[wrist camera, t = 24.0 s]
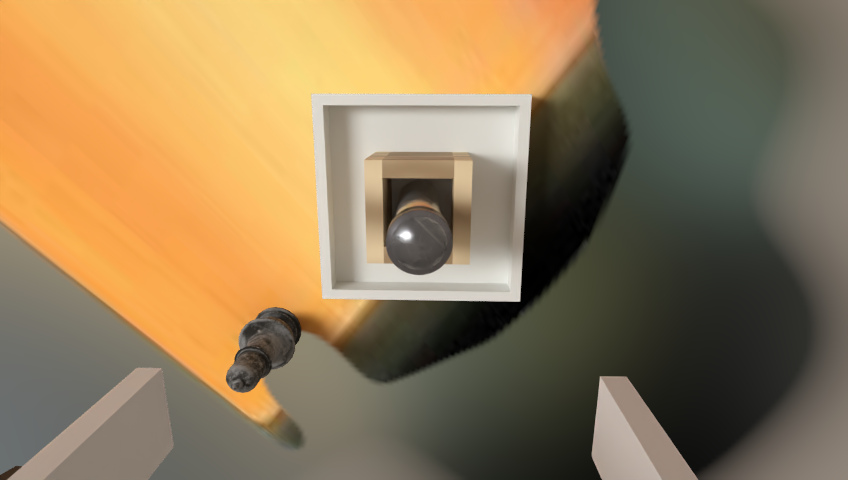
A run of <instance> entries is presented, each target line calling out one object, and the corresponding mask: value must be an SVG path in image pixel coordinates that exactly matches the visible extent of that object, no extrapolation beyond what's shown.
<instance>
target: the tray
mask: <svg viewBox="0 0 848 480" xmlns="http://www.w3.org/2000/svg"><path fill="white" fill-rule="evenodd" d="M311 97H312V115H313V134H314V152H315V170H316V189H317V207H318V225H319V244H320V262H321V280H322V299H379V300H450V301H520V293H521V275H522V258H523V240H524V223H525V205H526V188H527V170H528V153H529V135H530V118H531V101H532V94H311ZM375 152H468V154H469V155H470V157H471V159H472V160H473V167H472V202H471V236H470V265H461V264H444V265H443V266H442V267H441V268H440V269H438V270H436V271H435V272H432V273H430V274H426V275H413V274H409V273H406V272H404V271H402V270H400V269H399V268H398V267H396V266H395V265H394V264H383V263H367V251H366V215H365V179H364V160H365V159H366V158H367V157H369V156H370V155H372V154H373V153H375ZM416 180H420V181H425V182H427V183H429V184H430V185H431V186H433V188H434V189H435V190H436V193H437V196H438V200H439V205H440V210H441V214H442V216H443V217H444V218H445V219H446V221H447V222H448V224H449V226H451V185H452V179H436V178H392V220H393V218H394V217H395V215H396V209H397V203H398V197H399V193H400V191H401V189H402V188H403V187H404V186H405V185H406V184H407V183H409V182H412V181H416Z"/></svg>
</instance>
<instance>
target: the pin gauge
mask: <svg viewBox="0 0 848 480" xmlns="http://www.w3.org/2000/svg"><path fill="white" fill-rule="evenodd" d="M452 247H453V239H452V234H451V230H450V227H449V224H448V222H447V221H446V219H445V218H444V217H443V216H442V214H441V210H440V205H439V200H438V196H437V193H436V190H435V189H434V188H433V186H431V185H430V184H429V183H427V182H425V181H420V180H416V181H412V182H409V183H407V184H406V185H405V186H404V187H403V188H402V189H401V191H400V193H399V197H398V203H397V209H396V215H395V217H394V218H393V220H392V221H391V223H390V225H389V228H388V231H387V236H386V250H387V253H388V256H389V258H390V260H391V261H392V262H393V264H394V265H395V266H396V267H398V268H399V269H400V270H402V271H404V272H406V273H409V274H413V275H426V274H430V273H432V272H435V271H436V270H438V269H440V268H441V267H442V266H443V265H444V264H445V263H446V262H447V260H448V259H449V257H450V255H451V252H452Z"/></svg>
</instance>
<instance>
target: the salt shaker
mask: <svg viewBox="0 0 848 480" xmlns="http://www.w3.org/2000/svg"><path fill="white" fill-rule="evenodd" d="M300 336H301V327H300V323H299V321H298V319H297V318H296V317H295V316H294V315H293V314H292V313H291V312H289V311H288V310H285V309H283V308H277V307H274V308H268V309H266V310H264V311H262V312H261V313H260V314H259V315H258V316H257V317H256V319H255V320H252V321H250V322H249V323H248V324H246V325H245V326H244V328H243V329H242V330H241V333H240V336H239V347H240V350H239V351H238V352H237V354H236V356H235V362H234V364H233V365H232V366H231V367H230V369H229V370H228V372H227V375H226V381H227V384H228V385H229V387H230V388H231V389H233V390H234V391H236V392H241V393H244V392H249V391H251V390H252V389H253V388H255V386H256V385H257V383H258V382H259V380H260V379H261V378H264V377H265V376H267V375H268V374H269V372H270V370H271V369H277V368H280V367H283V366H284V365H285V364H287V363H288V362H289V361H290V359H291V358H292V356H293V354H294V350H295V345H296V344H297V342H298V341H299V338H300Z"/></svg>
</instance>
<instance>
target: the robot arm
mask: <svg viewBox="0 0 848 480" xmlns="http://www.w3.org/2000/svg"><path fill="white" fill-rule="evenodd" d="M173 447H174V445H173V438H172V431H171V425H170V418H169V412H168V405H167V399H166V392H165V386H164V379H163V372H162V368H136V369H135V370H134V371H133V372H132V373H131V374H129V375H128V376H127V377H126V378H125V379H124V380H123V381H121V382H120V383H119V384H118V385H117V386H115V387H114V388H113V389H112V390H111V391H110V392H109V393H108V394H106V395H105V396H104V397H103V398H101V399H100V400H99V401H98V402H97V403H96V404H94V405H93V406H92V407H91V408H90V409H89V410H88V411H86V412H85V413H84V414H83V415H82V416H80V418H78V419H77V420H76V421H75V422H74V423H72V424H71V425H70V426H69V427H68V428H67V429H65V430H64V431H63V432H62V433H61V434H60V435H58V436H57V437H56V438H55V439H54V440H53V441H51V442H50V443H49V444H48V445H47V446H46V447H45V448H43V449H42V450H41V451H40V452H39V453H38V454H36V455H35V456H34V457H33V458H32V459H31V460H30V461H28V462H27V463H26V464H25V465H24V466H15V467H14V468H12V469H10V470H8V471H7V472H5V473H3V474H1V475H0V480H148V479H149V477H150V476H151V475H152V473H153V472H154V471H155V469H156V468H157V467H158V466H159V465H160V463H161V462H162V461H163V459H164V458H165V457H166V456H167V454H168V453H169V452H170V451H171V449H172V448H173ZM592 458H593V460H594V462H595V464H596V467H597V469H598V471H599V473H600V476H601V478H602V480H698V479H697V478H696V476H695V475H694V473H693V472H692V470H691V469H690V467H689V466H688V465H687V463H686V462H685V460H684V459H683V458H682V456H681V455H680V453H679V452H678V450H677V449H676V447H675V446H674V444H673V443H672V442H671V440H670V439H669V437H668V436H667V434H666V433H665V431H664V430H663V429H662V427H661V426H660V424H659V423H658V421H657V420H656V419H655V417H654V416H653V414H652V413H651V411H650V410H649V408H648V407H647V406H646V404H645V403H644V401H643V400H642V398H641V397H640V395H639V394H638V393H637V391H636V390H635V388H634V387H633V385H632V384H631V382H630V381H629V380H628V378H627V377H609V376H601V377H600V384H599V393H598V402H597V413H596V421H595V431H594V440H593V450H592Z"/></svg>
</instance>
